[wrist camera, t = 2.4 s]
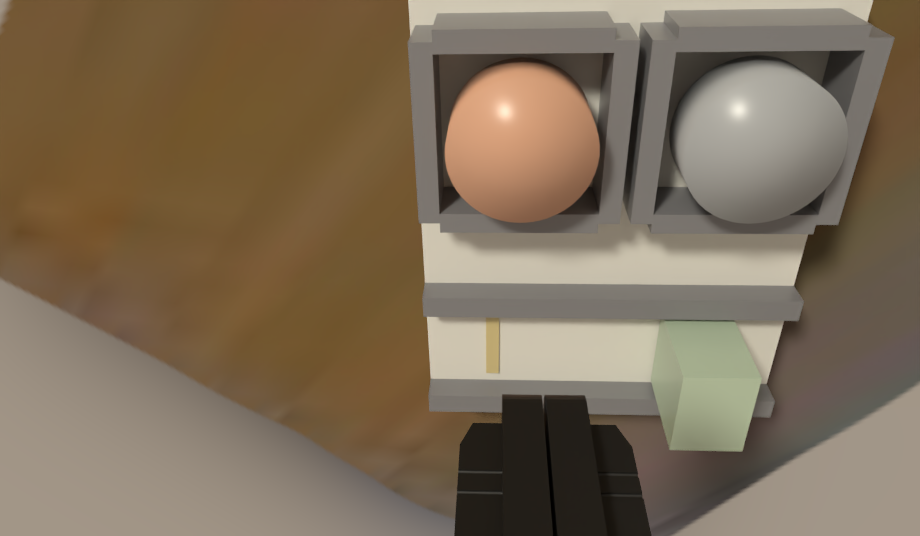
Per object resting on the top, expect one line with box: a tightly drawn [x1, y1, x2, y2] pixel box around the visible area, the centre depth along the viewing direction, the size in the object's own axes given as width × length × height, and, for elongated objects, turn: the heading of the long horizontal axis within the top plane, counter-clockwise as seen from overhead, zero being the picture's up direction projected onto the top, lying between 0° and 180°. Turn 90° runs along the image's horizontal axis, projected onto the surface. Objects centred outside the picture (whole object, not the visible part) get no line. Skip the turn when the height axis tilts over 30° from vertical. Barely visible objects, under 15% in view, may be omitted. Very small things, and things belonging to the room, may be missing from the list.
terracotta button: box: [445, 57, 600, 223], centre depth 25 cm, size 5×5×2 cm
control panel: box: [408, 0, 895, 417], centre depth 29 cm, size 20×16×5 cm
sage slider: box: [651, 319, 762, 451], centre depth 30 cm, size 4×3×4 cm
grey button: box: [669, 55, 848, 224], centre depth 24 cm, size 5×5×2 cm
